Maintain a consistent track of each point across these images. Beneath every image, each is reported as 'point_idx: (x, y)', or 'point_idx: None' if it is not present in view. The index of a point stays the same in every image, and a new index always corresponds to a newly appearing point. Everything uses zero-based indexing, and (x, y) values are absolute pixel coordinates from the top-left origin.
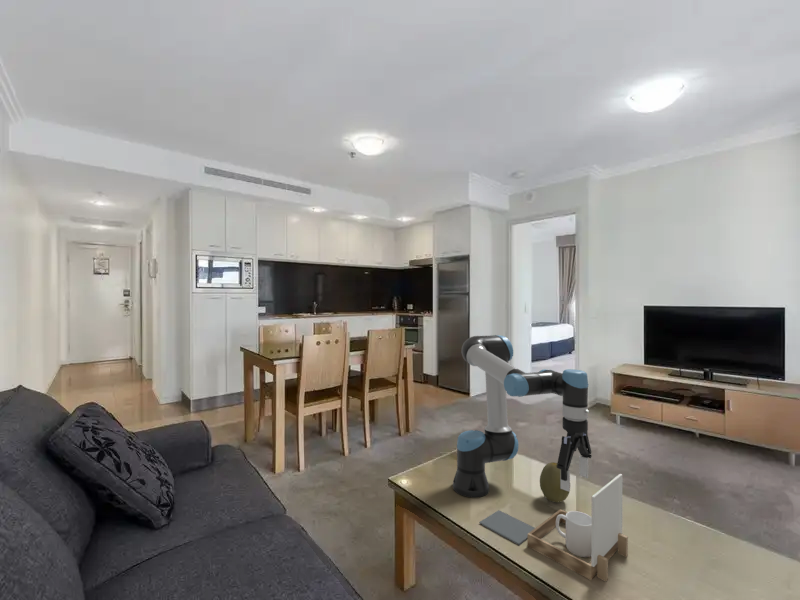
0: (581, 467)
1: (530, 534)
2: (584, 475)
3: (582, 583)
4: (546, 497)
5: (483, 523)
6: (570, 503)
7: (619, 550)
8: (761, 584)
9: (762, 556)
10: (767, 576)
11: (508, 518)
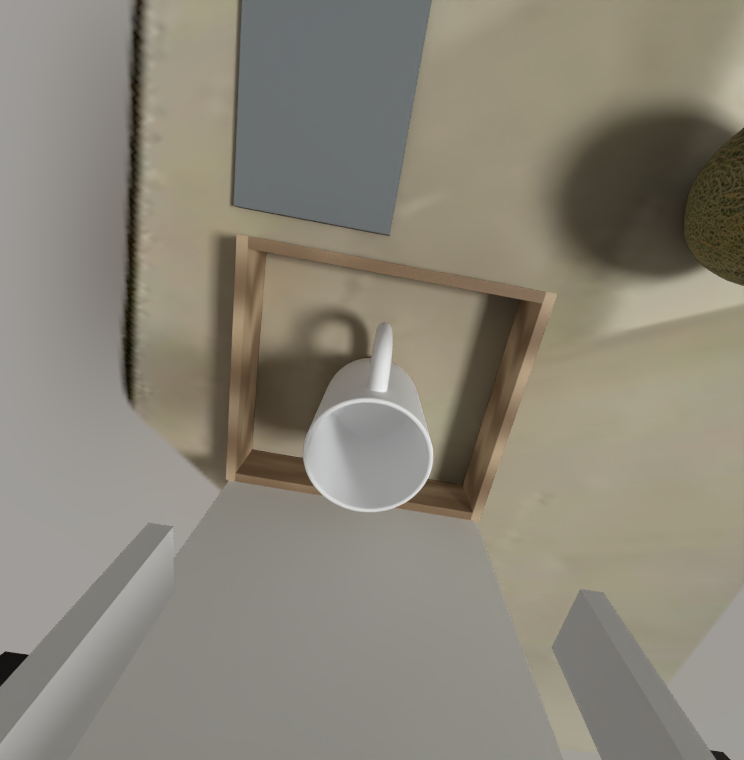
0: (637, 723)
1: (243, 247)
2: (570, 648)
3: (213, 440)
4: (700, 172)
5: None
6: (717, 286)
7: None
8: None
9: None
10: None
11: (388, 62)
